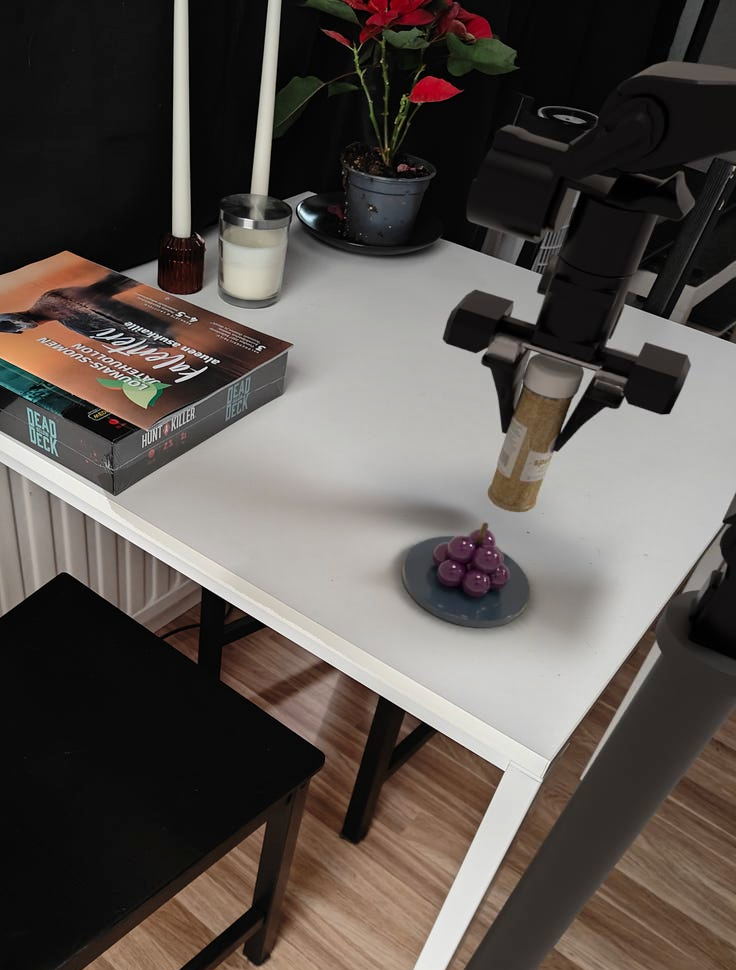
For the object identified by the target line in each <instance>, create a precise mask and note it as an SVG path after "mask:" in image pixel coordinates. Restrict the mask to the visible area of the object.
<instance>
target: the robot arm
mask: <svg viewBox="0 0 736 970" xmlns="http://www.w3.org/2000/svg"><path fill="white" fill-rule="evenodd" d="M602 104H603V105H602V107H601V108H600V110H599V112H598V116H597V121H596V125H595V126H593V128H591V129H589V130H587V131H585V132H584V133H582V134H581V135H579V136H578V137H576V138H575V139H574V140H572V141H570V142H569V143H568V144H567V143H564V142H560V141H557V140H554V139H551V138H547V137H542V136H541V135H540V136H539V135H537V134H536V135H535V134H534V133H531V132H529V131H528V130H526V129H525V128H522V127H519V126H515V125H512V124H507V125H505V126H503V127H501V128H499V129H498V130H497V131H496V132H495V135H494V139H493V143H492V146H491V148H490V149H489V150H488V152H487V153H486V155H485V157H484V158H483V161H482V163H481V165H480V167H479V170H478V172H477V175H476V177H475V179H473V180H472V182H471V184H470V188H469V192H468V195H467V201H466V218H467V220H468V221H469V222H471V223H473V224H476V225H480V226H482V227H485V228H489V229H491V230H494V231H498V232H500V233H504V234H506V235H509V236H513V237H516V238H519V239H521V240H524V241H528V242H532V243H534V244H539V243H541V242H542V241H543V239H544V238H545V237H546V235H547V234H548V232H549V233H552V234H555V235H556V234H558V233H560V231H561V230H562V228H563V227H564V225H565V223H566V222H567V220H568V217H569V216H570V213H571V211H572V208H573V206H574V204H575V201H576V197H577V194H578V192H579V195H578V197H577V201H576V204H575V206H574V209H573V212H572V214H571V218H570V221H569V224H568V227H567V230H566V232H565V236H564V238H563V242H562V245H561V248H560V251H559V254H553V253H551V255H550V257H549V259H548V261H547V263H546V266H545V268H544V270H543V273H542V275H541V278H540V280H539V282H538V285H537V289H536V293H537V294H539V295H541V296H544V298H543V300H542V304H541V307H540V309H539V313H538V315H537V319H536V321H535V323H532V322H528V321H526V320H522V319H520V318H516V317H512V313H513V310H514V303H515V302H514V300H511V299H508V298H506V297H505V298H504V297H502V296H498V295H495V294H491V293H489V292H485V291H482V290H479V289H473V290H472V291H470V292H469V293H467V294H466V295H465V296H464V297H463V298H462V299H461V300H460V301H459V303H457V304H456V306H455V307H454V308H453V309H452V310H451V312H450V314H449V316H448V318H447V320H446V324H445V328H444V332H443V335H442V340H443V342H444V343H445V344H446V345H448V346H452V347H454V348H458V349H461V350H464V351H467V352H470V353H473V354H478V353H480V352H483V351H484V350H486V351H485V352H484V354H483V355H482V356H481V359H480V364H481V365H482V366H483V367H486V368H489V370H490V372H491V375H492V380H493V383H494V387H495V389H496V390H495V391H496V395H497V401H498V410H499V418H500V428H501V429H500V430H501V433H502V434H505V435H506V434H507V431H508V428H509V425H510V421H511V418H512V415H513V412H514V410H515V408H516V405H517V402H518V399H519V396H520V392H521V389H522V386H523V376H524V373H525V370H526V367H527V364H528V361H529V360H530V355H531V352H535V353H537V354H544V355H547V356H550V357H553V358H556V359H559V360H562V361H565V362H568V363H571V364H575V365H578V366H581V367H582V368H583V369H587V370H590V371H594V372H595V373H593V376H592V378H591V379H590V381H589V383H588V385H587V387H586V388H585V390H584V392H583V394H582V395H581V397H580V398H579V400H578V403H577V404H576V405H575V406H574V409H573V411H572V412H571V414H570V416H569V418H568V420H567V421H566V422H565V424H564V425H563V427H562V429H561V433H560V435H559V437H558V439H557V442H556V444H555V447H554V452H555V453H558V452H559V451H560V450H561V449H562V448H563V447H564V446H565V445H566V444H567V443H568V442H569V441H570V440H571V439H572V437H573V436H574V435H575V434H577V432H578V431H579V430H580V429H581V427H583V426H584V425H585V424H586V423H588V422H589V421H590V420H591V419H593V418H594V417H595V416H596V415H597V414H599V413H600V412H601V411H602V410H603V409H605V408H609V409H613V410H618V409H620V407H621V406H622V404H623V401H624V400H626V402H627V404H628V405H630V406H633V407H636V408H639V409H643V410H645V411H648V412H651V413H655V414H657V415H661V416H665V415H670V414H671V412H672V410H673V408H674V407H675V405H676V403H677V401H678V399H679V396H680V394H681V391H682V390H683V387H684V385H685V382H686V380H687V378H688V374H689V372H690V370H691V367H692V363H691V361H690V358H689V356H688V354H685V353H682V352H679V351H675V350H673V349H669V348H665V347H663V346H660V345H656V344H653V343H650V342H644V343H643V345H642V348H641V349H640V351H639V353H638V354H635V353H632V352H629V351H626V350H622V349H619V348H612V347H611V348H610V347H609V346H608V347H607V344H608V341H609V340H612V337H613V336H614V334H615V331H616V329H617V326H618V325H619V324H618V323H619V322H620V319H621V316H622V314H623V312H624V309H625V300H626V298H627V295H628V292H629V289H630V287H631V285H632V282H633V280H634V277H635V275H636V272H637V269H638V267H639V265H640V262H641V260H642V257H643V254H644V252H645V250H646V248H647V246H648V243H649V240H650V238H651V235H652V232H653V231H654V227H655V225H656V223H657V220H658V218H659V217H662V218H665V219H668V220H672V221H675V222H679V221H681V220H682V219H683V218H684V217H685V216H686V215H687V214H688V213H689V212H690V211H691V210H692V208H694V206H695V204H696V200H695V198H694V197H693V195H692V193H691V191H690V189H689V187H688V186H687V183H686V179H685V172H684V171H682V170H678V171H677V172H675V173H674V174H673V175H671V176H669V177H668V178H665V179H659V178H657V177H653V176H649V175H645V174H646V173H651V172H655V171H660V170H665V169H669V168H674V167H675V168H676V167H680V166H684V165H688V164H692V163H695V162H699V161H703V160H706V159H709V158H712V157H716V156H720V155H722V154H727V153H731V152H735V151H736V69H735V68H732V67H731V68H730V67H726V66H721V65H716V64H715V65H714V64H705V63H695V62H687V61H677V60H676V61H675V60H667V61H664V62H663V61H662V62H660V63H656V64H652V65H651V66H649V67H647V68H646V69H644V70H642V71H640V72H638V73H636V74H635V75H633V76H631V77H630V78H628V79H626V80H624V81H623V82H621V83H620V84H618V85H617V86H616V87H615V89H613V91H611V93H610V94H609V95H608V96H607V97H606V99H605V101H604V103H602ZM610 169H613V170H615V171H617V172H618V173H619V175H618V176H617V178H615V177H609V176H605V175H600V174H598V173H602V172H604V171H607V170H610ZM721 522H722V524H725V525H726V526H725V528H724V531H723V533H722V535H721V537H720V540H719V544H718V546H719V548H720V554H721V558H723V560H724V561H725V563H724V564H723V566H722V567H721V569H720V570H718V569H714V570H711V572H710V573H709V575H708V577H707V578H706V580H705V582H704V583H703V585H702V586H701V588H700V589H699V590H700V591H699V593H698V594H697V596H696V598H695V599H694V601H693V602H692V606H691V609H690V613H689V617H688V619H689V621H690V622H691V625H690V629H689V633H688V639H689V640H690V641H692V642H694V643H696V644H699V645H701V646H704V647H706V648H709V649H711V650H714V651H716V652H719V653H721V654H724V655H726V656H729V657H731V658H734V659H736V492H735V493H734V495H733V497H732V499H731V501H730V504H729V506H728V508H727V510H726V512H725V514H724V517H723V519H722V521H721Z"/></svg>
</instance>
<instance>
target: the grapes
mask: <svg viewBox="0 0 736 970" xmlns="http://www.w3.org/2000/svg"><path fill="white" fill-rule="evenodd" d="M401 569H402V570H401V571H402V572H401V576H402V581H403V584H404V587H405V589H406V591H407V593H409V595H410V596H411V597H412V599H413V600H414V601H415V602H416V603H417V604H418V605H419V606H420V607H422V608H423V609H424V610H426V611H427V612H429V613H430V614H432V615H433V616H435V617H438V618H440V619H442V620H444V621H446V622H449V623H452V624H455V625H459V626H463V627H468V628H470V627H471V628H493V627H499V626H502V625H506V624H509V623H510V622H512V621H514V620H515V619H516V618H518V617H519V616H520V615H521V614H522V613H523V611H524V609H525V608H526V606H527V603H528V602H529V599H530V592H531V589H530V584H529V583H530V582H529V579H528V578H527V575H526V574H525V572H524V570H523V569H522V568H521V567H520V565H519V564H518V563H517V562H516V561H515V560H514V559H513V558H512V557H511V556H509V555H508V554H507V553H505V552H504V551H502V550H501V549H500V547H498V546H496V537H495V535H494V533H493V532H491V530H489V523H488V522H486V521H485V522H483V523H482V524H481V528H480V527H479V528H476V529H473V530H472V531H471V532H470V533H469V534H468V535H465V534H460V535H455V536H454V535H447V536H446V535H444V536H443V535H441V536H436V537H431V538H427V539H425V540H422V541H420V542H419V543H417V544H416V545H414V546H413V547H412V548H410V550H409V551H408V553H407V554H406V556H405V558H404V562H403V566H402V568H401Z"/></svg>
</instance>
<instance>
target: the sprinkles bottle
mask: <svg viewBox="0 0 736 970" xmlns="http://www.w3.org/2000/svg"><path fill="white" fill-rule="evenodd" d="M584 375H585V371H584V367H581V366H578V365H575V364H571V363H568V362H565V361H562V360H559V359H556V358H553V357H550V356H547V355H544V354H541V353H537V354H533V356H531V357H529V359H528V362H527V365H526V368H525V372H524V376H523V381H522V386H521V390H520V394H519V399H518V402H517V405H516V408H515V410H514V412H513V415H512V418H511V421H510V425H509V428H508V431H507V433H506V434H505V436H504V440H503V444H502V445H501V449H500V453H499V456H498V459H497V462H496V469H495V472H494V475H493V477H492V480H491V484H490V485H489V486H488V489H487V497H488V499H489V501H490V502H491V503H492V504H493V505H494V506H496V507H498V508H500V509H501V510H504V511H507V512H512V513H524V512H528V511H530V510H532V509H534V507H536V505H537V500H538V495H539V492H540V489H541V487H542V483H543V481H544V479H545V476H546V475H547V472H548V469H549V466H550V464H551V461H552V459H553V456H554V454H555V451H554V447H555V444H556V442H557V439H558V437H559V435H560V433H561V432H562V430H563V427H564V425H565V420H566V418H567V416H568V412H569V410H570V407H571V404H572V401H573V399H574V397H575V396H576V395H577V393H578V392H579V389H580V387H581V385H582V380H583V377H584Z"/></svg>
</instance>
